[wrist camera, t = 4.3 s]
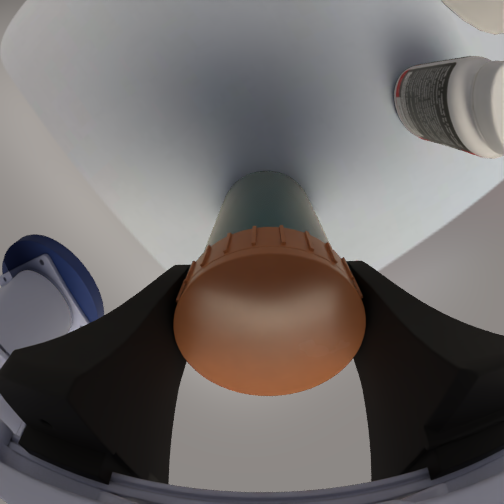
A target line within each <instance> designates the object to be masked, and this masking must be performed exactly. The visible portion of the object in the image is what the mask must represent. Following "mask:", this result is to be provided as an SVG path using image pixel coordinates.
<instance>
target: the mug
mask: <svg viewBox="0 0 504 504" xmlns="http://www.w3.org/2000/svg"><path fill="white" fill-rule="evenodd" d="M442 2H443V3H444V4H445V5H446V6H447V7H449V8H450V9H451V10H452V11H453V12H454V13H456V14H457V15H458V16H459V17H460V18H461V19H462V20H464V21H465V22H467V23H469V24H470V25H472V26H474V27H475V28H477V29H478V30H480V31H484V32H487V33H490V34H494V35H496V34H504V0H442Z"/></svg>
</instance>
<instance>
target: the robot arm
mask: <svg viewBox="0 0 504 504" xmlns="http://www.w3.org/2000/svg"><path fill="white" fill-rule="evenodd" d="M42 260H43V261H42ZM346 262H347V264H348V266H349V268H350V270H351V273H352V275H353V276H354V278H355V280H356V282H357V284H358V286H359V289H360V291H361V293H362V295H363V298H362V302H363V305H364V308H365V313H366V329H365V335H364V338H363V341H362V344H361V346H360V348H359V350H358V352H357V353H356V355H355V356H354V357H353V359H354V362H355V365H356V368H357V371H358V373H359V377H360V381H361V385H362V389H363V394H364V401H365V407H366V413H367V420H368V428H369V439H370V449H371V450H370V451H371V474H372V475H371V476H372V479H371V482H367V483H361V484H356V485H350V486H343V487H336V488H328V489H318V490H307V491H292V492H233V491H232V492H231V491H218V490H207V489H196V488H189V487H181V486H175V485H169V484H168V479H169V459H170V447H171V446H170V445H171V437H172V427H173V421H174V413H175V407H176V401H177V395H178V389H179V385H180V381H181V378H182V375H183V371H184V368H185V365H186V362H187V361H186V359H185V358H184V357H183V355H182V353H181V352H180V350H179V348H178V345H177V343H176V340H175V335H174V330H173V318H174V312H175V308H176V306H177V302H175V301H176V298H177V296H178V293H179V291H180V288H181V286H182V284H183V281H184V279H185V278H186V276H187V273H188V271H189V269H190V266H191V265H175V266H173V267H171V268H170V269H169V270H167V271H166V272H165V273H163V274H162V275H161V276H159V277H158V278H157V279H156V280H154V281H153V282H152V283H151V284H149V285H148V286H147V287H145V288H144V289H143V290H142V291H140V292H139V293H138V294H136V295H135V296H133V297H132V298H130V299H129V300H128V301H126V302H125V303H123V304H122V305H121V306H119V307H117V308H116V309H114V310H113V311H111V312H110V313H108V314H106V315H104V316H102V317H101V318H99V319H97V320H95V321H93V322H91V323H90V322H89V320H88V319H87V317H86V316H85V314H84V313H83V311H82V310H81V308H80V307H79V305H78V304H77V302H76V300H75V299H74V297H73V296H72V294H71V292H70V291H69V289H68V287H67V286H66V284H65V282H64V281H63V279H62V277H61V275H60V274H59V272H58V270H57V268H56V267H55V265H54V263H53V261H52V259H51V257H50V256H49V255H48V254H43V255H41V256H39V257H37V258H34V259H32V260H30V261H28V262H26V263H24V264H22V265H20V266H18V267H16V268H14V269H12V270H10V271H8V272H6V273H4V274H2V275H1V276H0V285H1V288H0V498H1V499H3V500H4V501H5V502H6V503H8V504H504V336H503V335H499V334H495V333H492V332H489V331H485V330H482V329H479V328H476V327H474V326H471V325H468V324H466V323H463V322H461V321H459V320H456V319H454V318H452V317H450V316H448V315H445V314H443V313H441V312H440V311H438V310H436V309H434V308H432V307H430V306H428V305H427V304H425V303H423V302H421V301H420V300H418V299H417V298H415V297H414V296H412V295H410V294H409V293H407V292H406V291H404V290H403V289H401V288H400V287H399V286H397V285H396V284H394V283H393V282H391V281H390V280H389V279H387V278H386V277H385V276H383V275H382V274H381V273H379V272H378V271H376V270H375V269H374V268H372V267H371V266H369V265H368V264H366V263H365V262H363V261H346Z"/></svg>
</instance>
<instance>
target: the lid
mask: <svg viewBox="0 0 504 504" xmlns="http://www.w3.org/2000/svg"><path fill="white" fill-rule="evenodd" d="M362 298H363V295H362V293H361V291H360V289H359V286H358V284H357V282H356V280H355V278H354V276H353V275H352V273H351V270H350V268H349V266H348V264H347V262H346V260H345V258H344V257H343V258H342V259H341V258H340V256H339V255H338V254H337V253H336V252H335V251H334V250H333V249H332V247H331V245H330V243H328V242H327V243H324V242H322V241H321V240H319V239H318V238H316V237H313V236H311V235H310V234H309V232H308V231H305V233H304V232H301V231H297V230H294V229H288V228H284V226H283V225H280V226H279V227H261V228H257V226H253V229H248V230H243V231H240V232H237V233H234V234H231V232H230V233H228V234H227V237H225V238H223V239H221V240H219V241H218V242H216V243H215V244H213V245H212V246H210V245H208V246H207V247H206V250H205V252H204V253H203V254H202V255H201V256H200V257H199V259H198V260H197V261H196V262H195V261H193V262H192V264H191V266H190V269H189V271H188V273H187V276H186V278H185V279H184V281H183V284H182V286H181V288H180V291H179V293H178V296H177V298H176V301H175V302H177V306H176V308H175V312H174V318H173V330H174V335H175V340H176V343H177V345H178V348H179V350H180V352H181V353H182V355H183V357H184V358H185V359H186V361H187V362H188V363H189V364H190V365H191V366H192V367H193V368H194V369H195V370H196V371H197V372H198V373H199V374H201V375H202V376H203V377H205V378H206V379H208V380H209V381H211V382H213V383H215V384H217V385H219V386H221V387H224V388H227V389H229V390H232V391H236V392H239V393H244V394H249V395H258V396H278V395H286V394H293V393H297V392H301V391H304V390H307V389H310V388H313V387H315V386H317V385H320V384H322V383H324V382H325V381H327V380H329V379H331V378H332V377H334V376H335V375H336V374H338V373H339V372H340V371H341V370H342V369H344V368H345V367H346V366H347V365H348V364H349V362H350V361H351V360H352V359H353V357H354V356H355V355H356V353H357V352H358V350H359V348H360V346H361V344H362V341H363V338H364V335H365V329H366V313H365V308H364V305H363V302H362Z"/></svg>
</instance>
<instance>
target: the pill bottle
mask: <svg viewBox="0 0 504 504" xmlns="http://www.w3.org/2000/svg"><path fill="white" fill-rule="evenodd" d="M394 101H395V107H396V110H397V113H398V116H399V118H400V120H401V122H402V123H403V125H404V126H405V127H406V128H407V129H408V130H409V131H410V132H411V133H412V134H414V135H415V136H417V137H419V138H421V139H424V140H427V141H431V142H435V143H438V144H442V145H445V146H449V147H452V148H455V149H458V150H462V151H465V152H468V153H470V154H473V155H477V156H479V157H483V158H490V159H492V158H498V157H501V156H504V61H491V60H489V59H487V58H484V57H479V56H469V57H461V58H455V59H449V60H443V61H438V62H432V63H426V64H420V65H416V66H412V67H410V68H408V69H407V70H405V71H404V72H403V73H402V74H401V75H400V77H399V78H398V80H397V83H396V86H395V90H394Z"/></svg>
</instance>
